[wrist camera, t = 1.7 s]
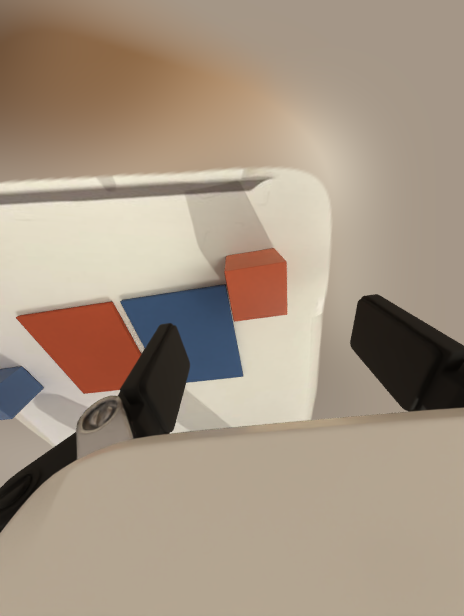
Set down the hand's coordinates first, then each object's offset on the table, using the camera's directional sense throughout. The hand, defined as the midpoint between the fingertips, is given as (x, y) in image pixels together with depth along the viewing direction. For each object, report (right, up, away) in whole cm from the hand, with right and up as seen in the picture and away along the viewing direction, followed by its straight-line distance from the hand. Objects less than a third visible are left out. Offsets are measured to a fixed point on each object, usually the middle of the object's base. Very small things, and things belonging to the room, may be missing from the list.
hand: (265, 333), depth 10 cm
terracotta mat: (-17, -4, +11) cm, 21 cm away
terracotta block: (0, +4, +7) cm, 8 cm away
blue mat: (-6, -2, +10) cm, 12 cm away
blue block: (-29, -8, +13) cm, 33 cm away
